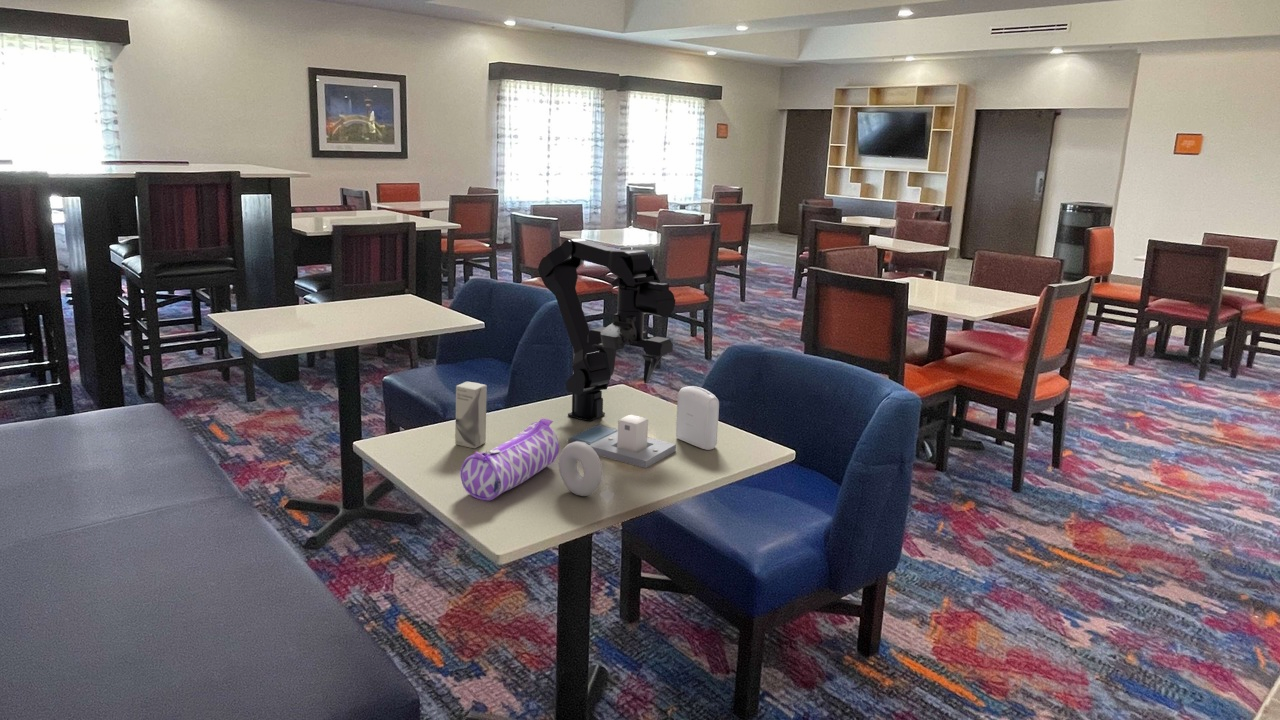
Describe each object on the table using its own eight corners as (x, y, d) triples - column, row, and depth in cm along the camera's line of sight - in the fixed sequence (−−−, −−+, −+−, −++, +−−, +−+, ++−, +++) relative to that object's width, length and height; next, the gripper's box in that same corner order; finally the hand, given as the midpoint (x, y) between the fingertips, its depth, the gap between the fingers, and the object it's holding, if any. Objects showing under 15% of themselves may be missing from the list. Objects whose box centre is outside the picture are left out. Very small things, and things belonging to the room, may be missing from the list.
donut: (605, 500, 148) (607, 447, 145) (591, 505, 146) (593, 452, 143) (568, 483, 155) (569, 433, 152) (554, 488, 152) (555, 437, 150)
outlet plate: (588, 452, 170) (588, 444, 170) (619, 436, 180) (620, 429, 180) (645, 468, 163) (646, 460, 163) (675, 451, 173) (676, 443, 173)
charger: (617, 451, 171) (618, 419, 169) (628, 445, 175) (629, 414, 173) (635, 456, 169) (636, 424, 167) (646, 450, 173) (648, 418, 171)
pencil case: (497, 509, 143) (497, 458, 141) (454, 498, 147) (453, 448, 144) (562, 467, 162) (563, 421, 160) (522, 458, 166) (523, 413, 164)
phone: (568, 441, 176) (568, 437, 176) (597, 428, 185) (597, 424, 185) (591, 447, 173) (591, 443, 173) (619, 433, 182) (620, 430, 182)
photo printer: (672, 438, 181) (675, 383, 178) (687, 434, 184) (690, 380, 181) (704, 452, 173) (708, 395, 170) (719, 448, 176) (723, 392, 173)
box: (454, 445, 171) (453, 385, 168) (466, 438, 175) (465, 380, 172) (476, 449, 170) (475, 389, 166) (487, 442, 174) (487, 384, 170)
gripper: (573, 308, 175) (571, 379, 179) (648, 321, 166) (645, 395, 170) (603, 301, 184) (601, 369, 188) (675, 313, 175) (672, 383, 179)
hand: (628, 379), depth 181 cm, fingers open, 9 cm apart
